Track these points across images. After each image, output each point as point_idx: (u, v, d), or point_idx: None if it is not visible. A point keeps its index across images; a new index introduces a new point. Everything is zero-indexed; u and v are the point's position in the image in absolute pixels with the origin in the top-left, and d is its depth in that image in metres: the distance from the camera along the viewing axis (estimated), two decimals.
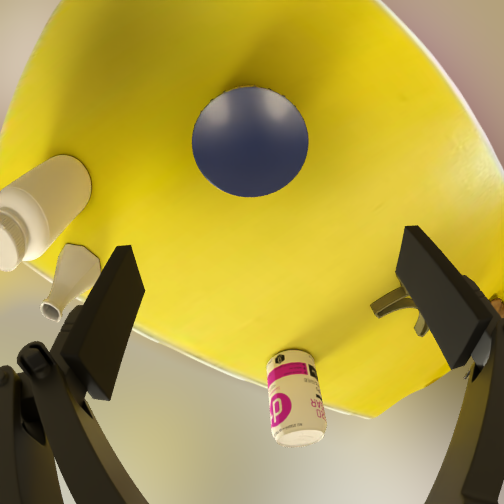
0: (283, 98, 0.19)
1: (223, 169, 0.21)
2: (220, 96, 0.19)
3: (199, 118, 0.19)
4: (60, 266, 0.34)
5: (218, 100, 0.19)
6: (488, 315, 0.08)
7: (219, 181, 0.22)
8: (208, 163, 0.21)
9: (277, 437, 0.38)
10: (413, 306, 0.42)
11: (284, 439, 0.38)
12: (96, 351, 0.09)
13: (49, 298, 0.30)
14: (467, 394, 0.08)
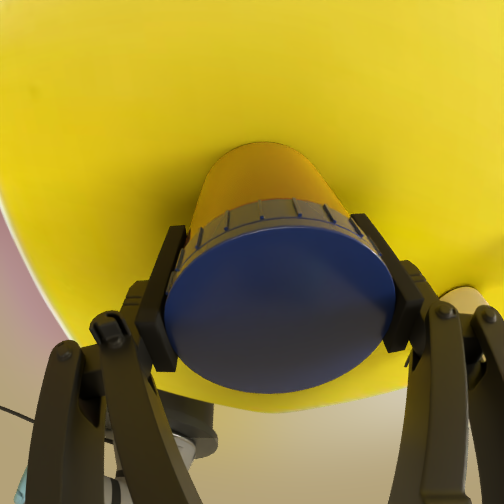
0: (175, 348, 0.11)
1: (357, 328, 0.10)
2: (254, 392, 0.12)
3: (302, 388, 0.12)
4: None
5: (261, 391, 0.12)
6: (419, 297, 0.09)
7: (381, 318, 0.10)
8: (360, 346, 0.11)
9: None
10: None
11: None
12: None
13: None
14: (409, 384, 0.09)
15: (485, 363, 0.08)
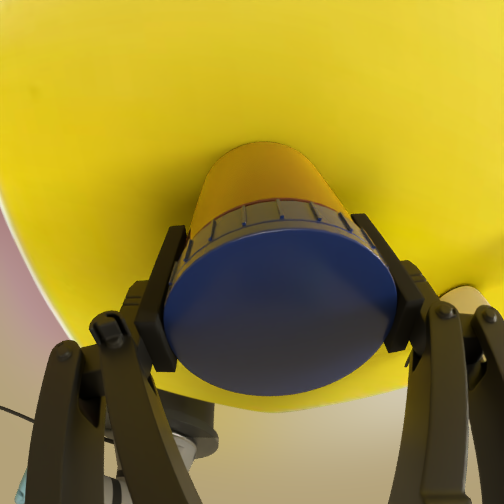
0: (350, 371, 0.12)
1: (234, 288, 0.09)
2: (394, 295, 0.09)
3: (370, 255, 0.09)
4: None
5: (389, 292, 0.09)
6: (419, 297, 0.09)
7: (203, 277, 0.09)
8: (255, 261, 0.08)
9: None
10: None
11: None
12: None
13: None
14: (410, 384, 0.09)
15: (485, 363, 0.08)
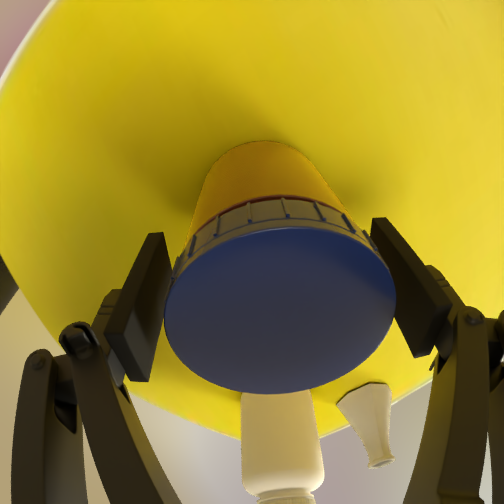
0: (390, 282, 0.09)
1: (212, 351, 0.11)
2: (278, 230, 0.08)
3: (206, 256, 0.08)
4: (352, 425, 0.31)
5: (269, 237, 0.08)
6: (447, 303, 0.09)
7: (196, 363, 0.11)
8: (188, 336, 0.10)
9: None
10: None
11: None
12: (137, 331, 0.10)
13: (370, 458, 0.27)
14: (433, 387, 0.08)
15: None
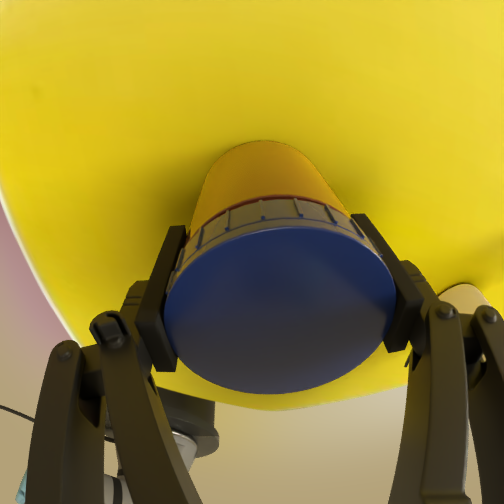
0: (303, 230, 0.08)
1: (261, 376, 0.12)
2: (173, 290, 0.09)
3: (168, 335, 0.10)
4: None
5: (175, 298, 0.09)
6: (419, 297, 0.09)
7: (264, 388, 0.12)
8: (233, 378, 0.12)
9: None
10: None
11: None
12: None
13: None
14: (409, 384, 0.09)
15: (485, 363, 0.08)
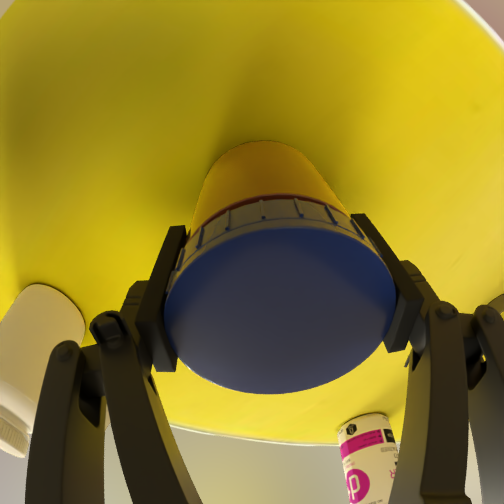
0: (303, 230, 0.08)
1: (260, 376, 0.12)
2: (173, 290, 0.09)
3: (168, 335, 0.10)
4: None
5: (175, 298, 0.09)
6: (419, 297, 0.09)
7: (264, 388, 0.12)
8: (232, 378, 0.12)
9: None
10: None
11: None
12: None
13: None
14: (409, 385, 0.09)
15: (485, 363, 0.08)
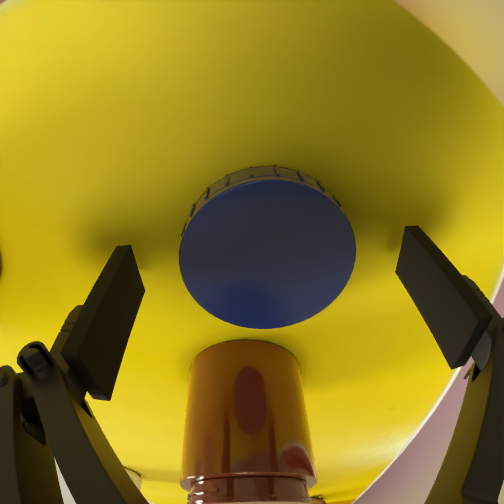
0: (278, 182, 0.12)
1: (253, 309, 0.15)
2: (188, 229, 0.13)
3: (182, 269, 0.14)
4: None
5: (189, 236, 0.13)
6: (488, 315, 0.08)
7: (256, 322, 0.16)
8: (230, 311, 0.15)
9: None
10: None
11: None
12: (96, 351, 0.09)
13: None
14: (467, 394, 0.08)
15: None
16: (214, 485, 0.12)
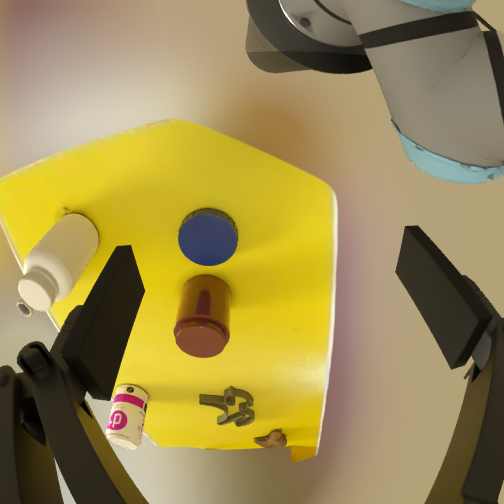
0: (207, 215, 0.40)
1: (203, 257, 0.43)
2: (181, 229, 0.41)
3: (179, 242, 0.42)
4: None
5: (181, 231, 0.41)
6: (488, 315, 0.08)
7: (205, 262, 0.44)
8: (196, 258, 0.43)
9: (110, 436, 0.52)
10: (223, 409, 0.67)
11: (113, 439, 0.53)
12: (95, 351, 0.09)
13: None
14: (467, 394, 0.08)
15: None
16: (186, 322, 0.40)
